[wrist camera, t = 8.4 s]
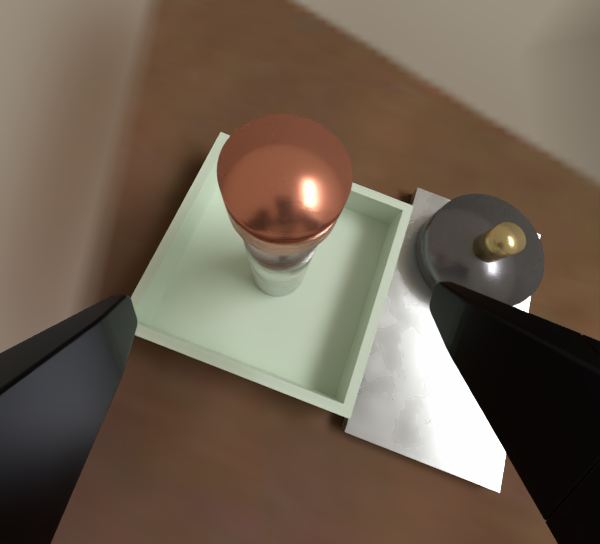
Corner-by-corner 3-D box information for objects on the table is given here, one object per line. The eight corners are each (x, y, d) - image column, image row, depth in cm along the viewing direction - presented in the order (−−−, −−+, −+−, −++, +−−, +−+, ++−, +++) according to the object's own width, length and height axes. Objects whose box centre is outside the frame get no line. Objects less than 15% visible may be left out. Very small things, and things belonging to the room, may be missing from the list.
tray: (338, 409, 20) (350, 419, 17) (137, 330, 20) (114, 327, 17) (396, 223, 23) (413, 205, 20) (226, 159, 23) (220, 132, 21)
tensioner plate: (488, 485, 19) (560, 531, 14) (341, 428, 19) (363, 453, 14) (529, 239, 24) (594, 210, 19) (411, 194, 24) (446, 154, 19)
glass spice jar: (310, 299, 21) (360, 232, 9) (248, 302, 20) (216, 236, 9) (306, 241, 22) (345, 114, 10) (247, 243, 21) (217, 112, 10)
